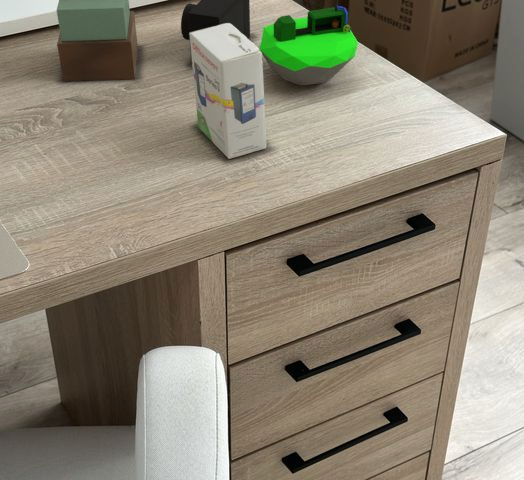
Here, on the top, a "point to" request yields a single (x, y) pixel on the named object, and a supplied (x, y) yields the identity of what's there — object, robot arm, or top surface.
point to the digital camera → (215, 16)
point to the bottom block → (100, 57)
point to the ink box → (229, 89)
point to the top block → (93, 19)
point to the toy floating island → (309, 45)
